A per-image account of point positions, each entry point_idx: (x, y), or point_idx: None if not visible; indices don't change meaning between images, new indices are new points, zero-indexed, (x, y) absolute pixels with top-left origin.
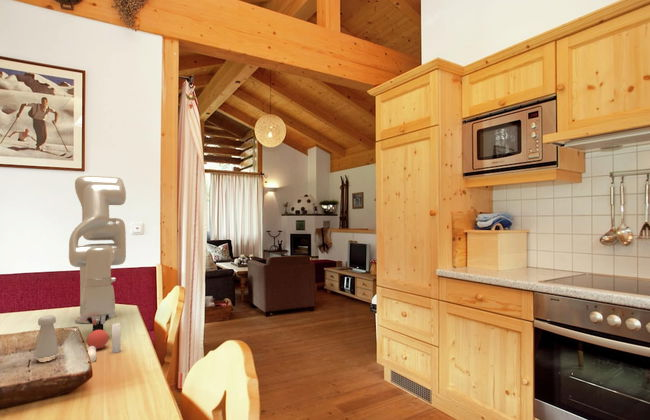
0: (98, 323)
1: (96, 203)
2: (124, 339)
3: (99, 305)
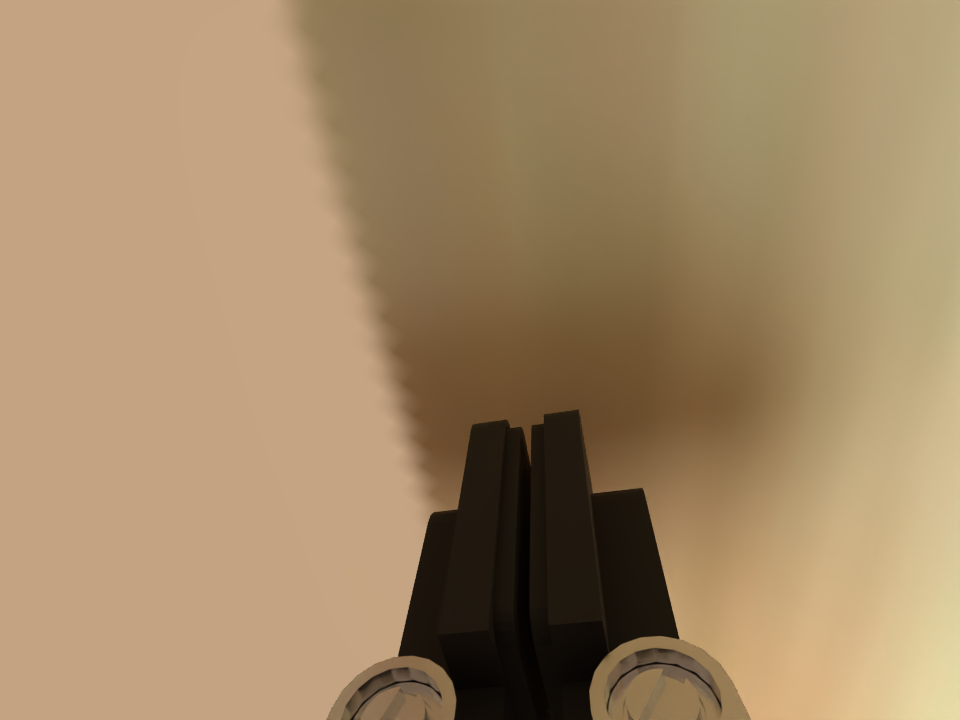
0: (557, 652)
1: None
2: (944, 625)
3: None
